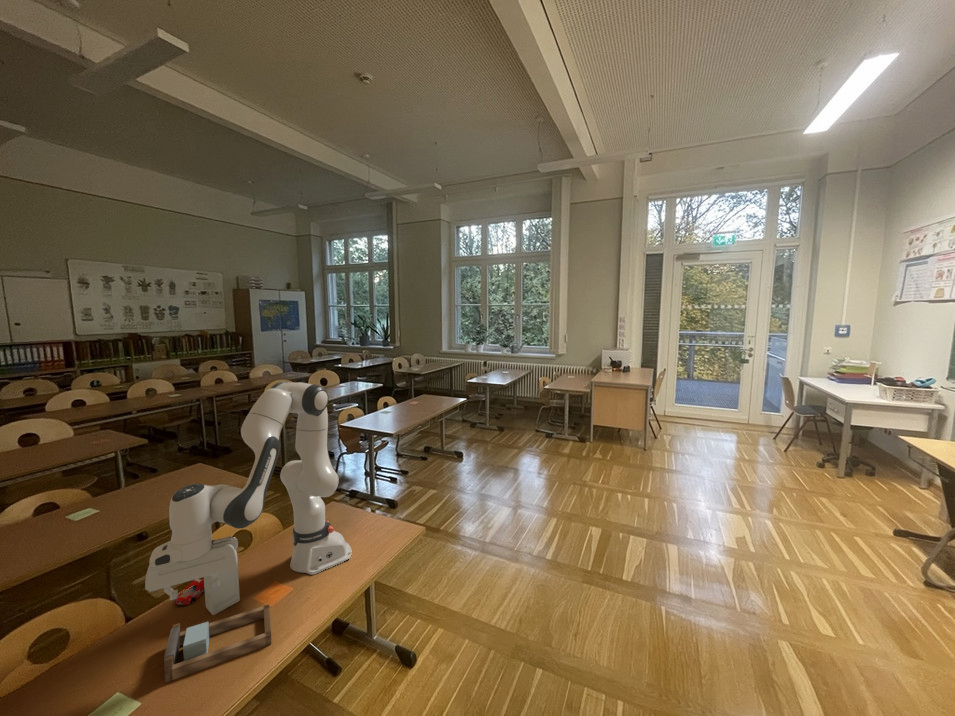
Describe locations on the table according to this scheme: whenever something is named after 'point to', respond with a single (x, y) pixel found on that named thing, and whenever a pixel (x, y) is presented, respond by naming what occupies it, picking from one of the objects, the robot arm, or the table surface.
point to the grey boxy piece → (196, 641)
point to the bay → (218, 655)
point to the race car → (191, 592)
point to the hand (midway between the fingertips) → (195, 592)
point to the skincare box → (222, 591)
